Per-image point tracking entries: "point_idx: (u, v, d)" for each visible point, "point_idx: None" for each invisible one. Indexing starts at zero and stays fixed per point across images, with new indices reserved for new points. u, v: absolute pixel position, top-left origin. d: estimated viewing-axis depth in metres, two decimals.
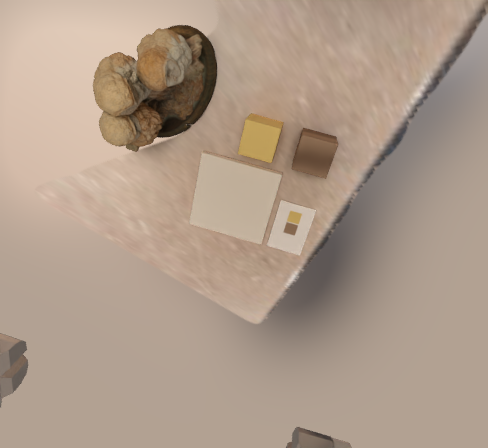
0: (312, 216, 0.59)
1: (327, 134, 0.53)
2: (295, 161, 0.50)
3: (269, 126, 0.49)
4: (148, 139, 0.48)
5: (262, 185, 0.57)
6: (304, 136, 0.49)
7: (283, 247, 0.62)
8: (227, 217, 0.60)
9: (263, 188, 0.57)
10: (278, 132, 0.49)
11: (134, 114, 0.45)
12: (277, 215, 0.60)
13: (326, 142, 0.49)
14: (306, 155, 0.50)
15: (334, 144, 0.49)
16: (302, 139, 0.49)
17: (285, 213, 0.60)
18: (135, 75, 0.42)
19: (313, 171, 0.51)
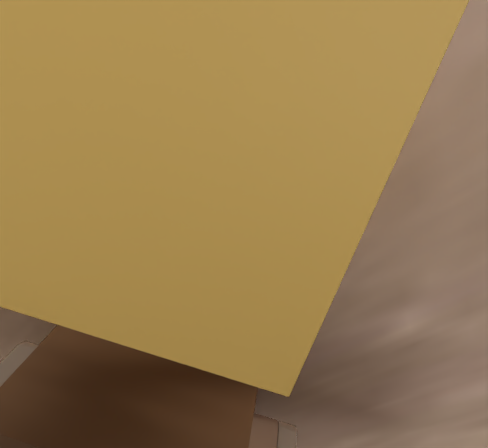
0: None
1: None
2: None
3: (319, 301, 0.04)
4: None
5: None
6: None
7: None
8: None
9: None
10: (252, 374, 0.05)
11: None
12: None
13: None
14: None
15: None
16: None
17: None
18: None
19: None
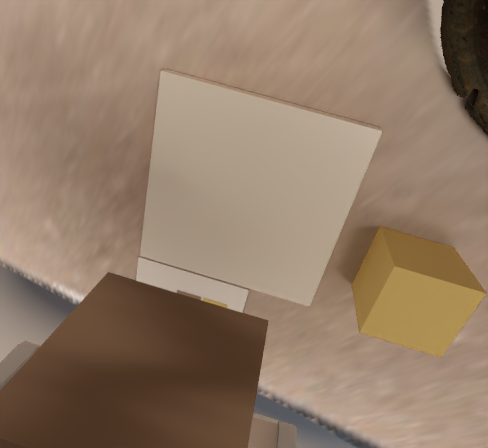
0: None
1: None
2: None
3: (452, 337, 0.21)
4: None
5: (285, 269, 0.25)
6: None
7: None
8: (197, 185, 0.23)
9: (278, 270, 0.25)
10: (433, 352, 0.21)
11: None
12: (213, 282, 0.28)
13: None
14: None
15: None
16: None
17: (219, 296, 0.28)
18: None
19: None
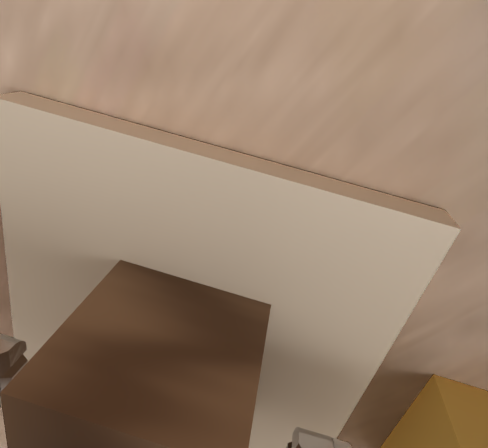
0: None
1: None
2: (57, 417, 0.07)
3: None
4: None
5: (263, 437, 0.14)
6: None
7: None
8: None
9: (251, 438, 0.14)
10: None
11: None
12: None
13: None
14: None
15: None
16: None
17: None
18: None
19: None
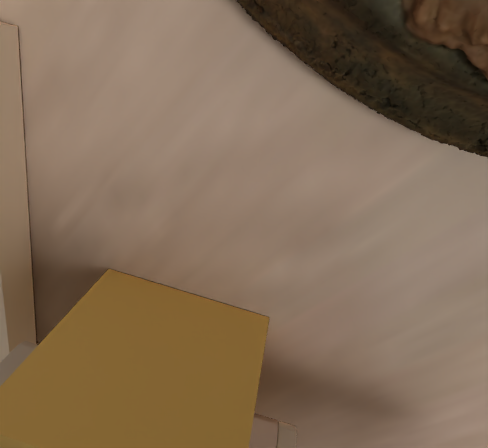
0: None
1: None
2: None
3: None
4: None
5: None
6: None
7: None
8: None
9: None
10: None
11: None
12: None
13: None
14: None
15: None
16: None
17: None
18: None
19: None
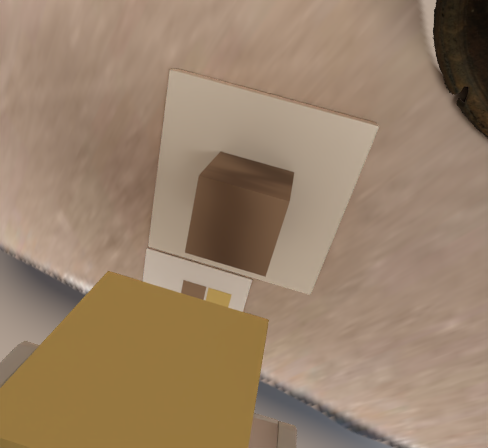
0: None
1: None
2: (219, 184, 0.19)
3: None
4: None
5: (287, 259, 0.26)
6: (285, 206, 0.19)
7: (150, 277, 0.31)
8: None
9: (280, 260, 0.26)
10: None
11: None
12: (218, 272, 0.29)
13: (270, 253, 0.20)
14: (236, 210, 0.20)
15: (265, 269, 0.21)
16: (277, 201, 0.19)
17: (223, 286, 0.30)
18: None
19: (198, 225, 0.20)
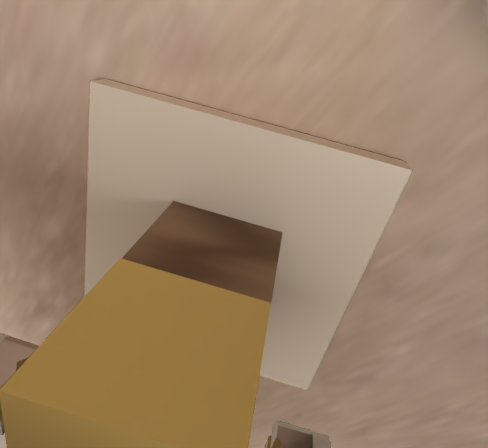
0: None
1: None
2: None
3: None
4: None
5: (274, 345, 0.19)
6: None
7: None
8: None
9: (265, 346, 0.19)
10: None
11: None
12: None
13: None
14: None
15: None
16: None
17: None
18: None
19: None
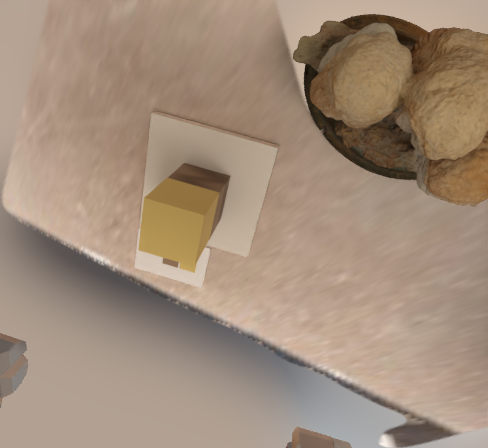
0: (193, 283, 0.45)
1: None
2: None
3: (196, 250, 0.30)
4: (325, 113, 0.25)
5: (231, 232, 0.40)
6: None
7: None
8: None
9: (226, 233, 0.40)
10: (188, 263, 0.30)
11: None
12: None
13: None
14: None
15: None
16: None
17: None
18: None
19: None
